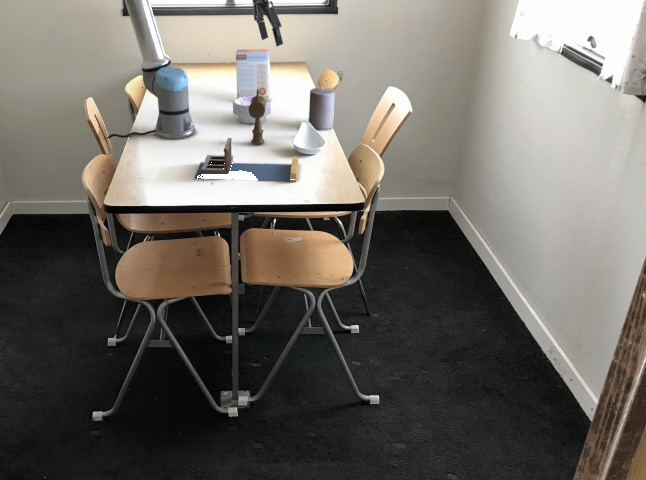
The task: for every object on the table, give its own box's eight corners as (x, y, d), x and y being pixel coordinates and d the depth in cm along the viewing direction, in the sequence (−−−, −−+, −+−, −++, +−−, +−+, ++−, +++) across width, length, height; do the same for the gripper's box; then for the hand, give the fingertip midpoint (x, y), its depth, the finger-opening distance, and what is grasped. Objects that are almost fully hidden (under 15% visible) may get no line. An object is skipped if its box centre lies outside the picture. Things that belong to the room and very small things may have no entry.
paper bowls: (248, 112, 296) (248, 93, 292) (278, 119, 288) (278, 99, 284) (225, 121, 287) (224, 101, 282) (254, 128, 278) (254, 108, 274)
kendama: (248, 147, 260) (248, 92, 249) (250, 139, 268) (250, 84, 257) (265, 148, 260) (265, 92, 248) (266, 139, 268) (266, 85, 256)
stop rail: (290, 181, 231) (290, 173, 230) (292, 164, 245) (292, 156, 243) (296, 182, 231) (296, 173, 230) (298, 164, 244) (298, 156, 243)
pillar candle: (303, 126, 280) (304, 87, 271) (319, 120, 285) (321, 82, 277) (322, 131, 274) (324, 92, 266) (338, 126, 280) (340, 87, 271)
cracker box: (269, 98, 312) (270, 48, 301) (268, 102, 307) (269, 51, 296) (238, 98, 314) (237, 48, 302) (236, 102, 309) (235, 51, 297)
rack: (201, 178, 235) (199, 149, 230) (207, 163, 247) (206, 135, 241) (228, 179, 234) (227, 150, 229) (233, 164, 246) (232, 136, 240)
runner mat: (193, 180, 235) (193, 179, 235) (200, 163, 248) (200, 162, 248) (296, 183, 231) (296, 182, 231) (298, 165, 245) (298, 164, 244)
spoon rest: (328, 157, 250) (329, 137, 246) (295, 159, 250) (295, 139, 246) (316, 135, 270) (317, 117, 266) (286, 137, 269) (286, 118, 265)
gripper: (281, -13, 264) (294, 43, 277) (253, -21, 283) (267, 32, 296) (264, -5, 262) (277, 51, 276) (237, -14, 281) (251, 39, 295)
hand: (272, 41), depth 286 cm, fingers open, 13 cm apart
